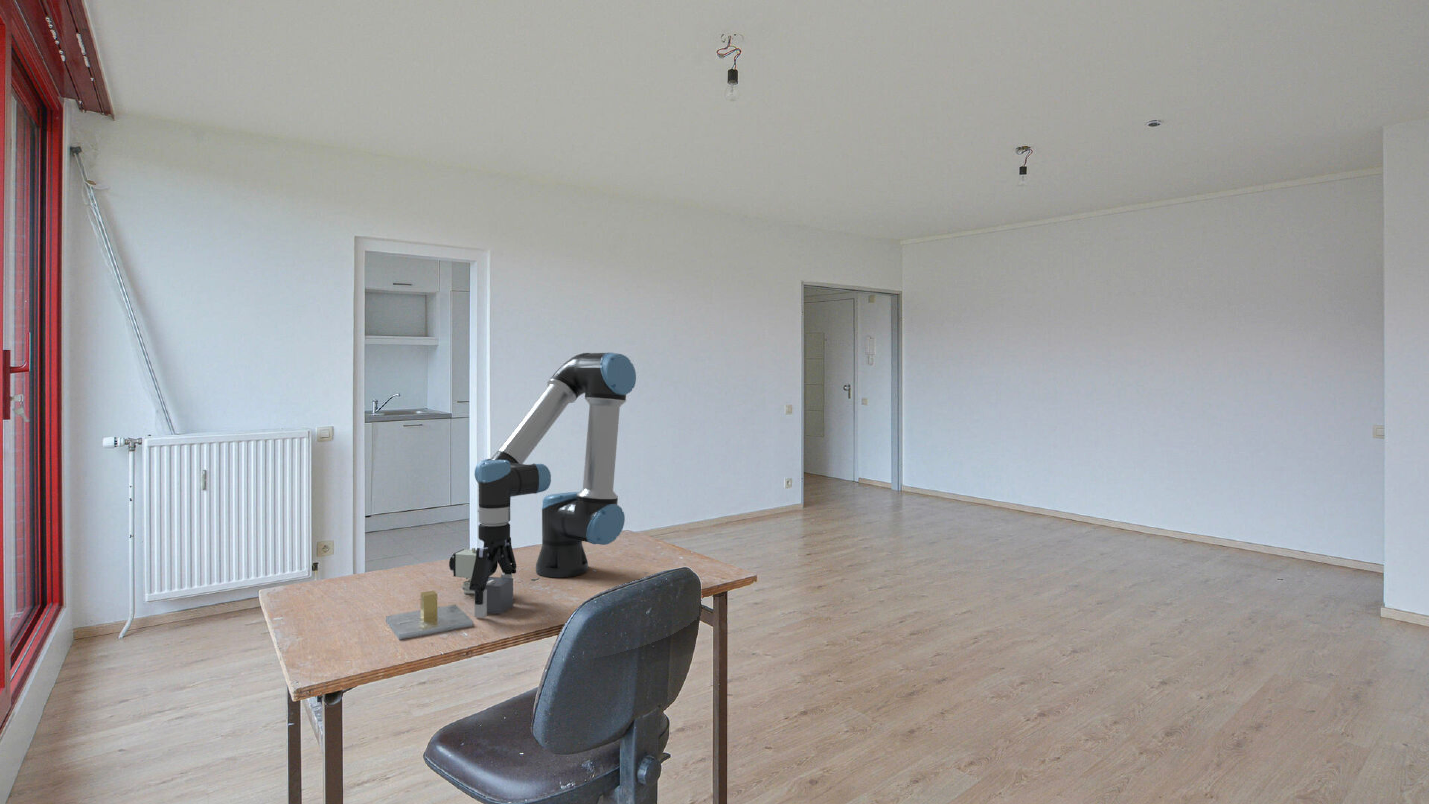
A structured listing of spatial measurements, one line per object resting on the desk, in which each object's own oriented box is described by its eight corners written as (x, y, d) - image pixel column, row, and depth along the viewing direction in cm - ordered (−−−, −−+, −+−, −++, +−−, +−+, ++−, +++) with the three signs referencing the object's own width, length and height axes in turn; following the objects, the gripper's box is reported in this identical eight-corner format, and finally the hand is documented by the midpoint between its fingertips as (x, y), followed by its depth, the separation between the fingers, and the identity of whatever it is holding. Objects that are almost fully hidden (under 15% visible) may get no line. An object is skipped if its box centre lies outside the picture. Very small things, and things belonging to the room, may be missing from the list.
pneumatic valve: (489, 597, 190) (489, 551, 189) (448, 593, 192) (448, 548, 192) (499, 591, 195) (499, 546, 195) (459, 587, 198) (459, 544, 197)
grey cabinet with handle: (487, 603, 185) (487, 574, 184) (513, 605, 183) (513, 575, 183) (474, 612, 178) (474, 581, 178) (500, 614, 177) (500, 583, 176)
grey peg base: (455, 609, 180) (455, 580, 180) (472, 626, 169) (472, 595, 168) (385, 621, 171) (385, 590, 171) (399, 639, 160) (399, 607, 159)
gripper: (503, 512, 193) (502, 591, 194) (454, 533, 168) (453, 623, 169) (529, 514, 191) (529, 593, 192) (484, 534, 167) (483, 626, 168)
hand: (494, 608), depth 181 cm, fingers open, 13 cm apart
